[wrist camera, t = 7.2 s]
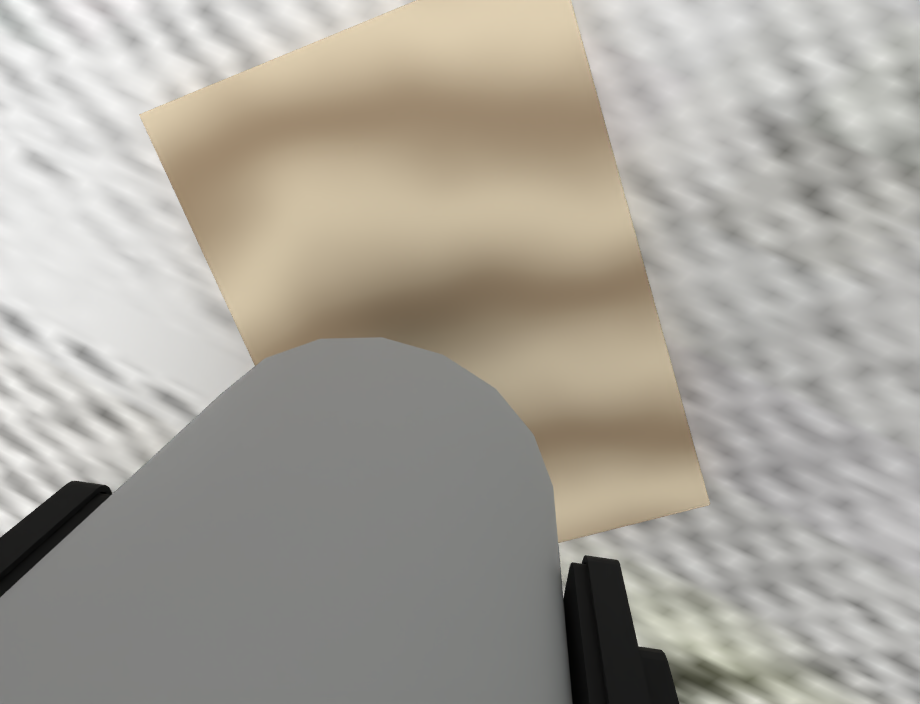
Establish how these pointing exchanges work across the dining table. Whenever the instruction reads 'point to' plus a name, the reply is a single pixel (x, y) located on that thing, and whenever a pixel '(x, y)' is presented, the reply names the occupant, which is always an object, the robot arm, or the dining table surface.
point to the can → (311, 551)
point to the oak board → (448, 230)
